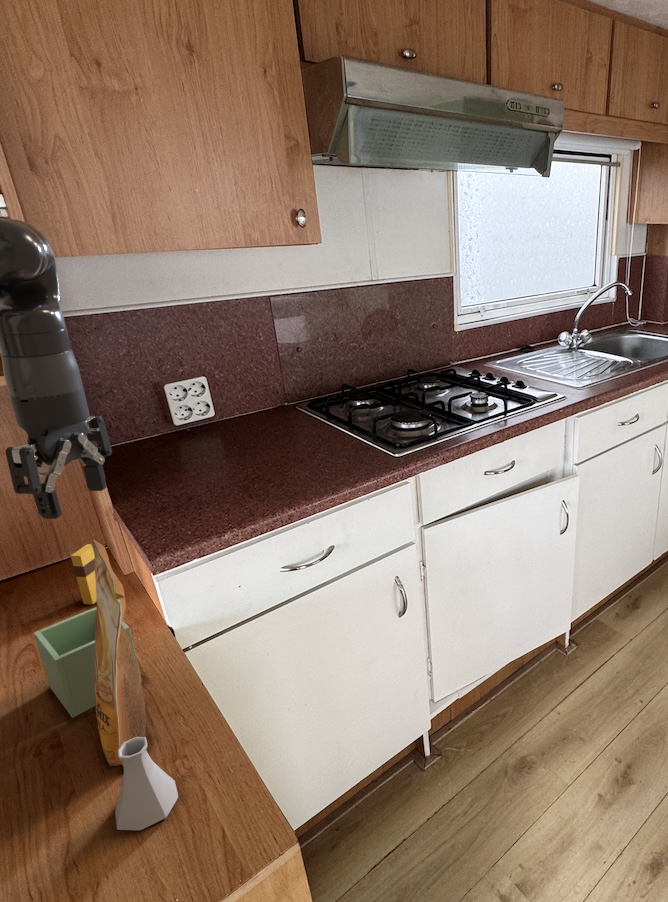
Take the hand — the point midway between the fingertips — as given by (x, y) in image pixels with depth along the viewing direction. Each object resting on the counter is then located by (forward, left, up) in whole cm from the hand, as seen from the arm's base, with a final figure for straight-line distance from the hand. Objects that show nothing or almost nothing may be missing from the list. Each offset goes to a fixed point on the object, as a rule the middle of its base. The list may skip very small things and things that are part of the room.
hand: (76, 503), depth 79 cm
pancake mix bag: (-2, -5, -35) cm, 36 cm away
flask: (-5, -20, -35) cm, 41 cm away
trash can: (-1, +9, -35) cm, 36 cm away
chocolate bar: (+8, +36, -35) cm, 51 cm away
